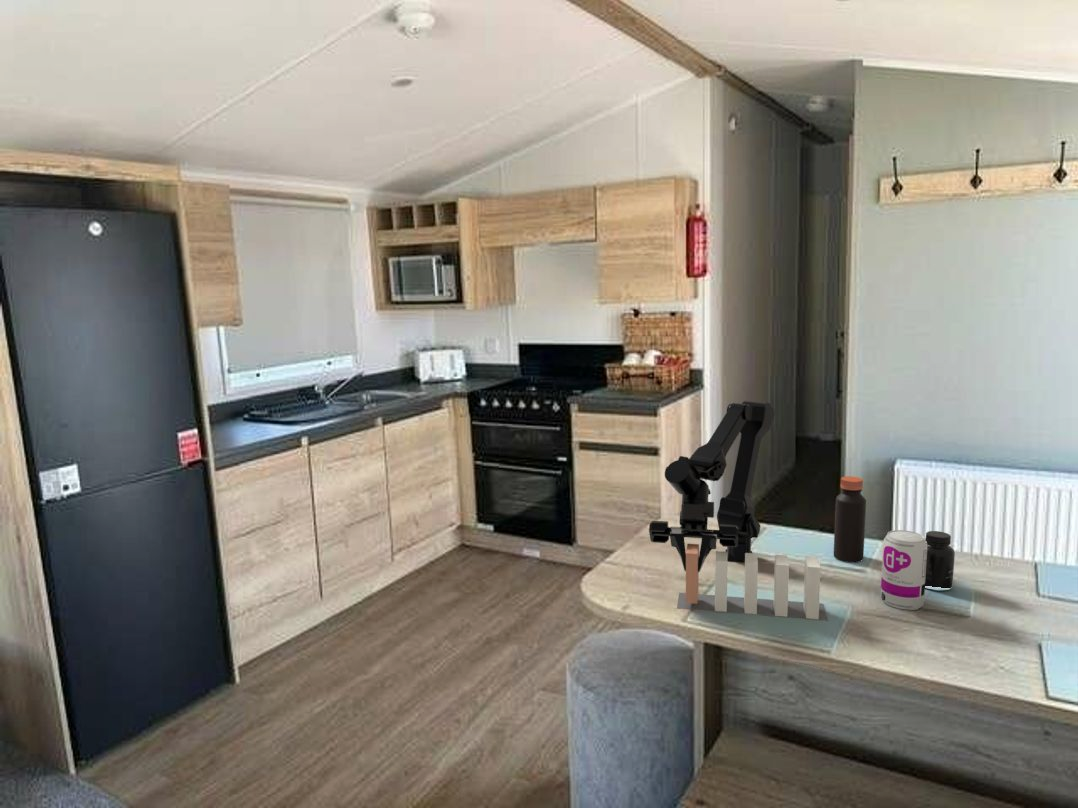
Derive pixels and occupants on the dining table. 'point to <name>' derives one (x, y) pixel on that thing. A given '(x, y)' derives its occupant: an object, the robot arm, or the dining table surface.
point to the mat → (737, 606)
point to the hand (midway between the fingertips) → (692, 570)
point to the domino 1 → (721, 581)
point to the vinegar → (850, 521)
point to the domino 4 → (811, 587)
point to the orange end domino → (692, 573)
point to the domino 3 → (781, 585)
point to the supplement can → (903, 569)
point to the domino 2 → (750, 583)
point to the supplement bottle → (939, 560)
